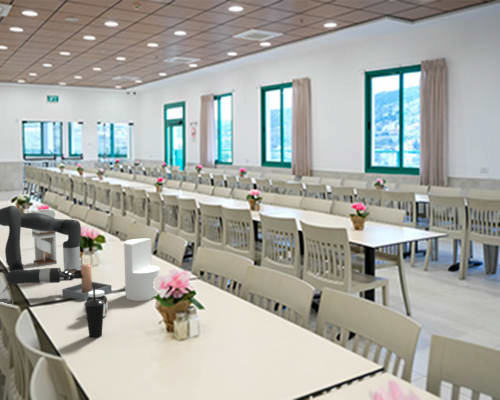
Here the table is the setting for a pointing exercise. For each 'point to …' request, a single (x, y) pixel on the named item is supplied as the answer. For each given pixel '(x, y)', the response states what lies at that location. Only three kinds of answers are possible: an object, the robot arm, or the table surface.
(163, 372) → the table surface
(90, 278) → the pillar candle
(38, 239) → the display case
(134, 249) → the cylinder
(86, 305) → the drinking cup
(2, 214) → the robot arm
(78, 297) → the shallow square tray
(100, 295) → the spread jar
